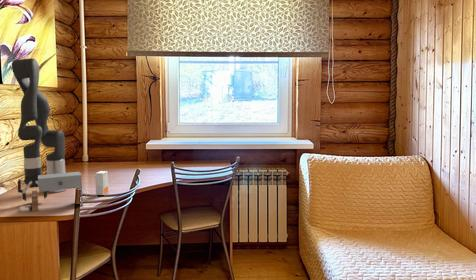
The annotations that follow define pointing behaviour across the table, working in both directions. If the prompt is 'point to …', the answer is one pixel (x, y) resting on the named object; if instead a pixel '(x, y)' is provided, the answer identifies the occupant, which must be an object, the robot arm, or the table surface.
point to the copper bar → (34, 201)
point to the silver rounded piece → (26, 208)
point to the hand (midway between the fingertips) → (35, 199)
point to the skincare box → (101, 182)
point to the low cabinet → (60, 182)
